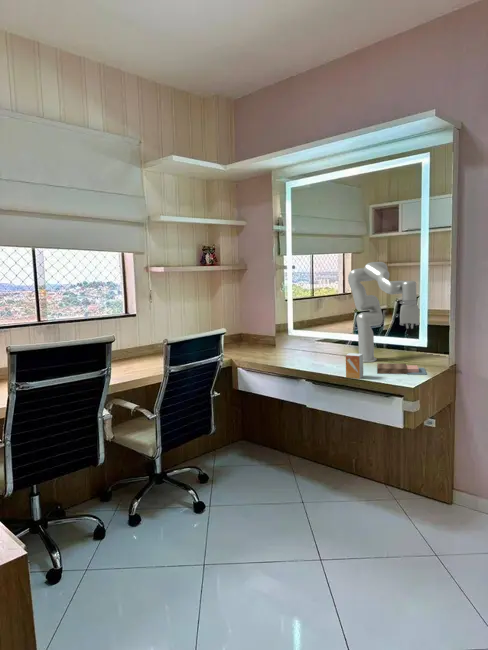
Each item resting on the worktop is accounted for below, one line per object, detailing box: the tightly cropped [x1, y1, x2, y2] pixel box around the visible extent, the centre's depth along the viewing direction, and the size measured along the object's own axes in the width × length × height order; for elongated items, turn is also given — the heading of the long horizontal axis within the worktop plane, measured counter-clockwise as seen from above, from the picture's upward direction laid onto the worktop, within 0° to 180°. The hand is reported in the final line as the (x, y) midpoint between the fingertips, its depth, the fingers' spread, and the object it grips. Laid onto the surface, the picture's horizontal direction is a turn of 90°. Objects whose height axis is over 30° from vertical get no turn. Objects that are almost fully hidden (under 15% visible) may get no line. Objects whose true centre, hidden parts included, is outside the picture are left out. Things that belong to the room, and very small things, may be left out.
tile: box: [406, 364, 419, 373], centre depth 249 cm, size 6×9×2 cm, turn 164°
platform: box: [376, 362, 408, 375], centre depth 252 cm, size 16×13×3 cm
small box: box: [345, 352, 364, 380], centre depth 243 cm, size 8×6×13 cm
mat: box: [406, 367, 427, 376], centre depth 248 cm, size 10×15×1 cm, turn 163°
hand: (409, 335), depth 247 cm, fingers closed
